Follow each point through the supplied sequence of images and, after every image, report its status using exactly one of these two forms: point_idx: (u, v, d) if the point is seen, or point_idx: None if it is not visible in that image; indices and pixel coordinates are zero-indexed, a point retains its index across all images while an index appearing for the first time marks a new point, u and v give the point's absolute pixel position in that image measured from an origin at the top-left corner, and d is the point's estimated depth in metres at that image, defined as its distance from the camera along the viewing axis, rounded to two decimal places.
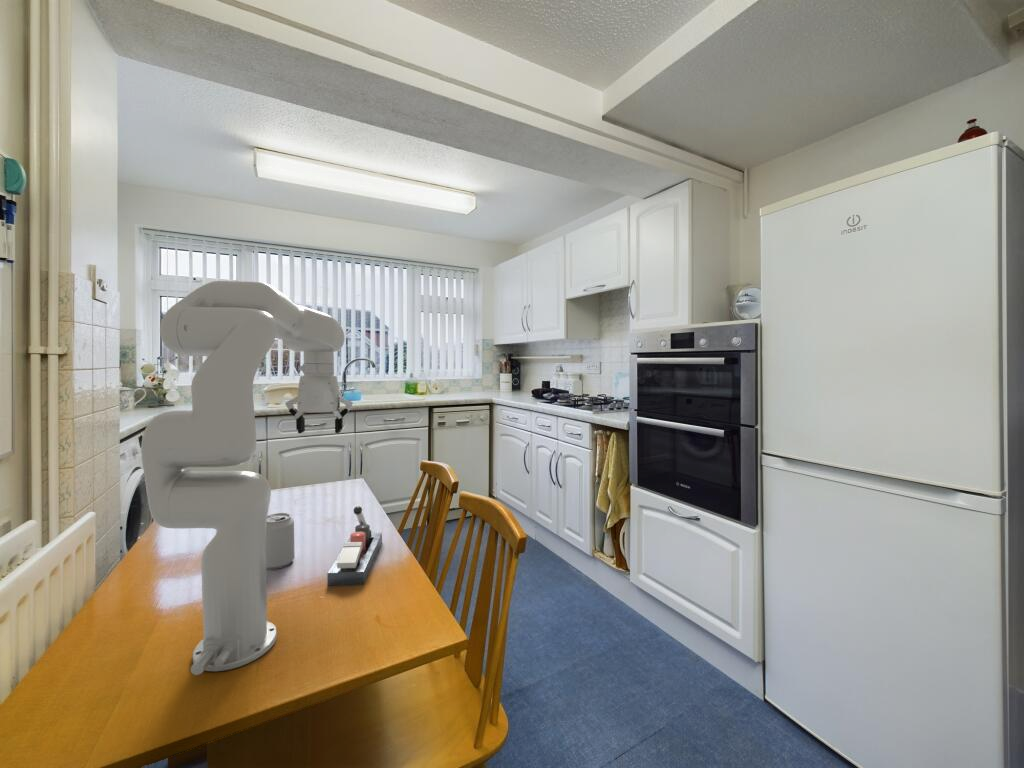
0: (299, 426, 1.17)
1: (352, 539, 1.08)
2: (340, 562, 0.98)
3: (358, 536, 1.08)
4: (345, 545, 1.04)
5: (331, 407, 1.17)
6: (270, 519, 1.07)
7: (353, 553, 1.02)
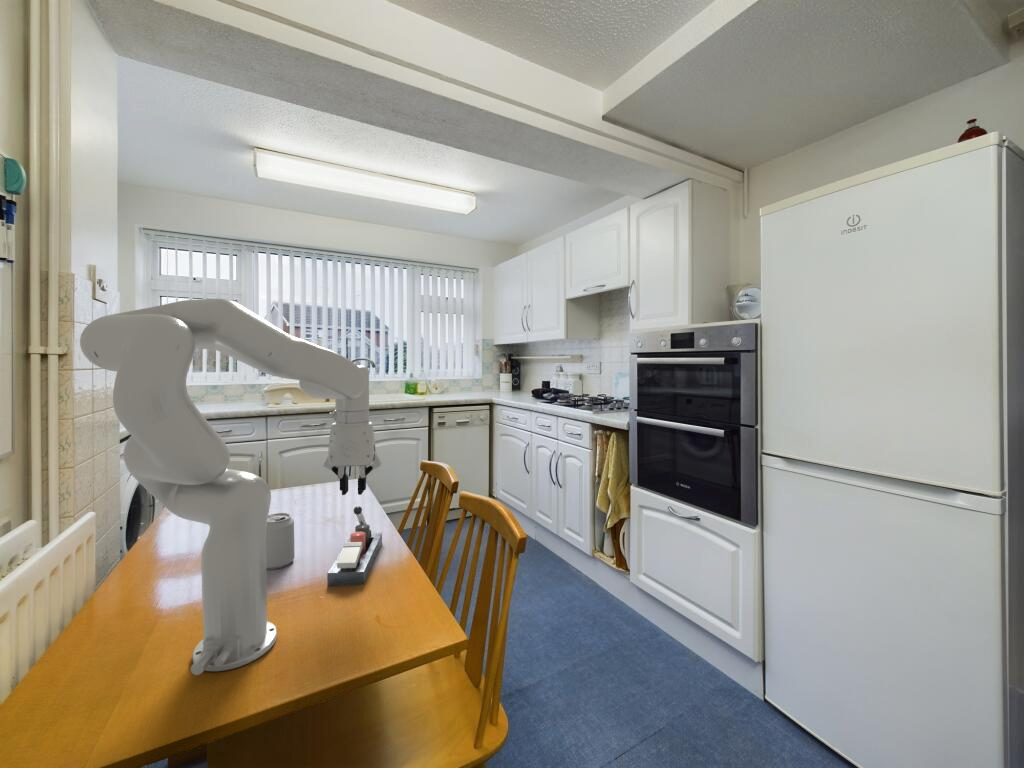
0: (343, 487, 1.02)
1: (352, 539, 1.08)
2: (340, 562, 0.98)
3: (358, 536, 1.08)
4: (345, 545, 1.04)
5: (367, 460, 1.01)
6: (270, 519, 1.07)
7: (353, 553, 1.02)
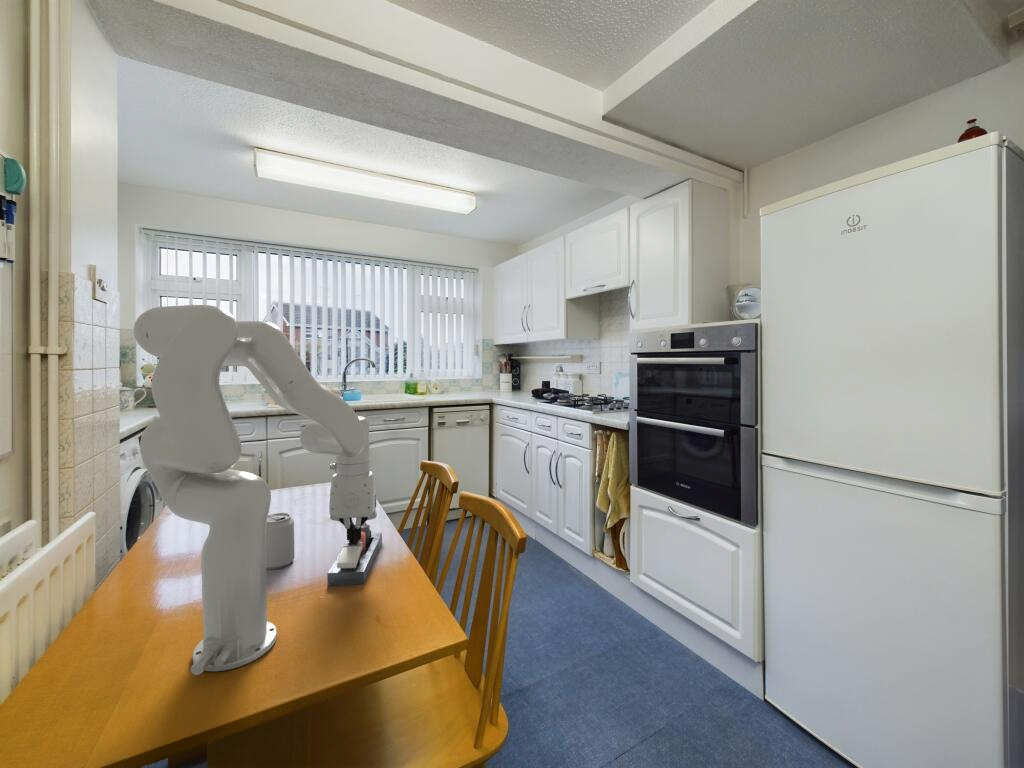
0: (350, 537, 1.04)
1: None
2: (340, 562, 0.98)
3: None
4: (345, 545, 1.04)
5: (368, 512, 1.02)
6: (270, 519, 1.07)
7: (353, 553, 1.02)
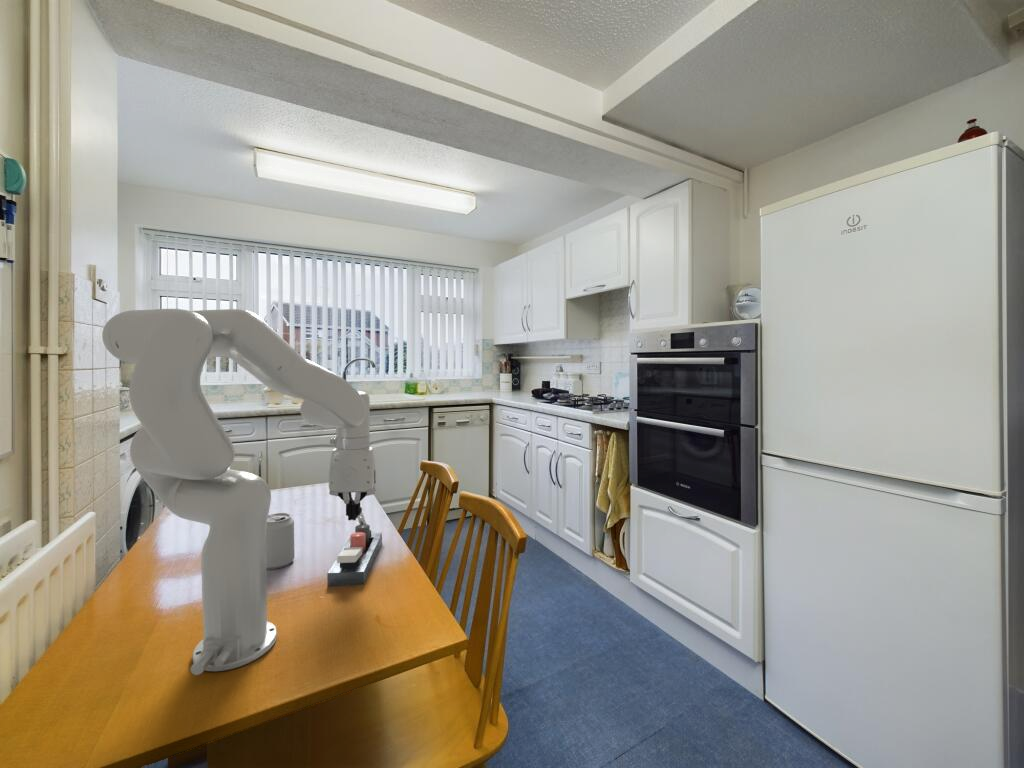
0: (349, 512, 1.03)
1: (352, 540, 1.08)
2: (340, 555, 0.99)
3: (358, 536, 1.08)
4: (346, 548, 1.04)
5: (367, 486, 1.02)
6: (270, 519, 1.07)
7: (353, 551, 1.02)
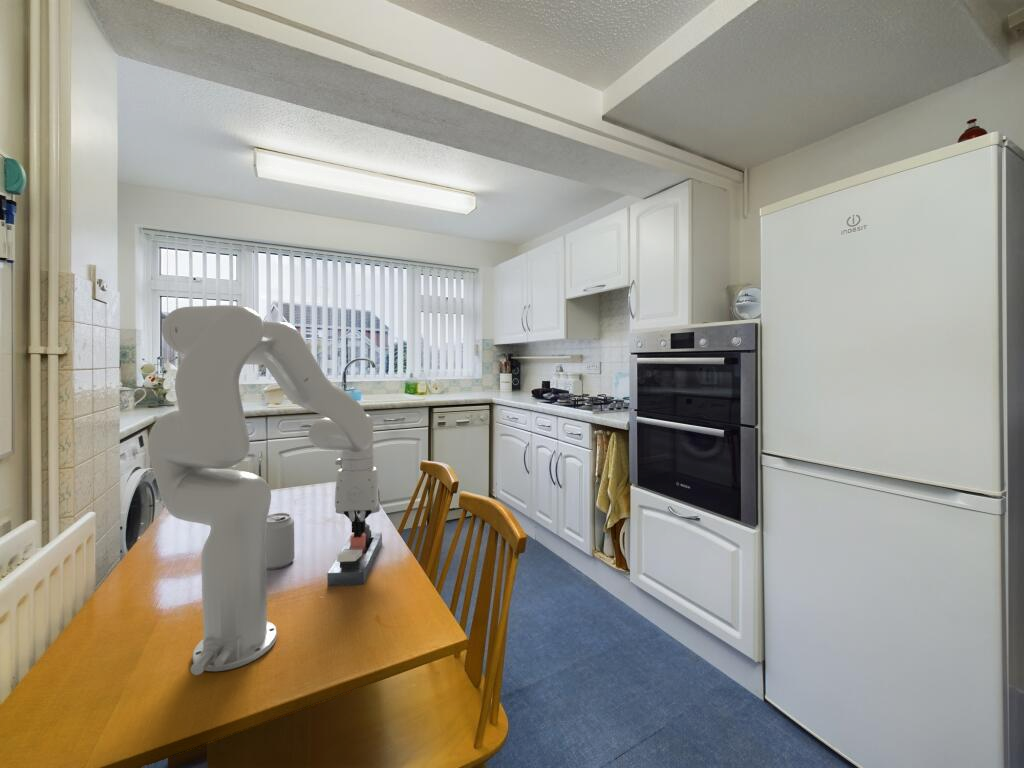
0: (355, 530, 1.08)
1: (352, 540, 1.08)
2: (341, 554, 0.99)
3: (358, 537, 1.08)
4: (346, 549, 1.04)
5: (372, 505, 1.07)
6: (270, 519, 1.07)
7: (353, 551, 1.02)
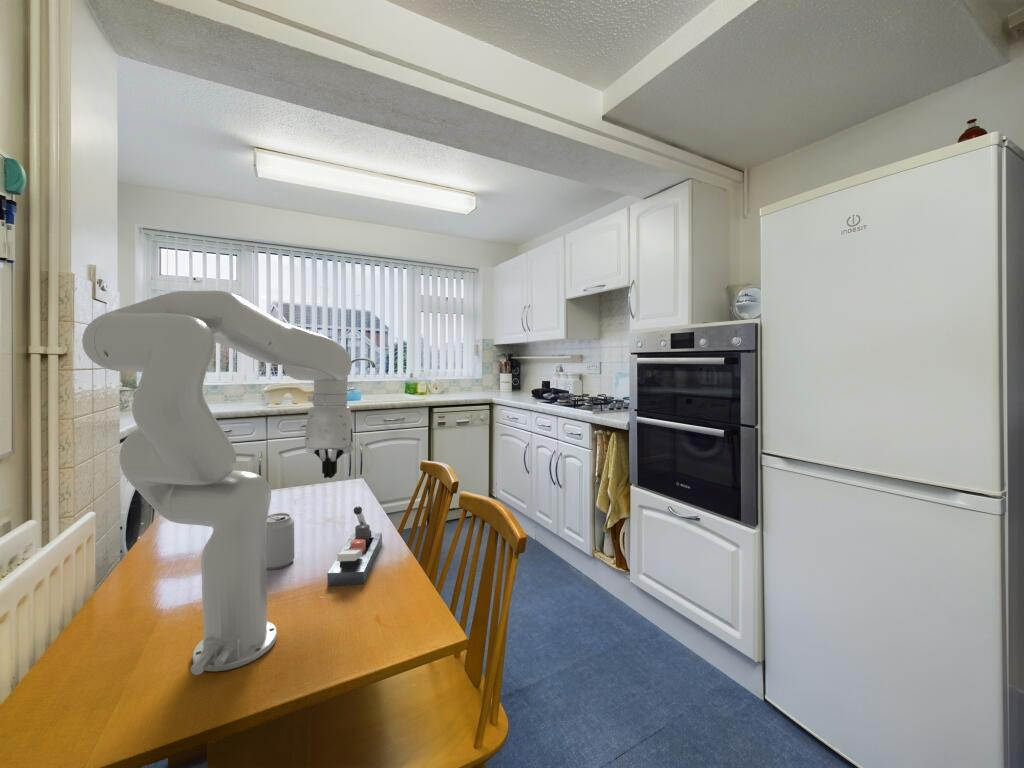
0: (325, 470, 1.04)
1: (352, 546, 1.08)
2: (341, 554, 0.99)
3: (358, 543, 1.09)
4: (346, 549, 1.04)
5: (343, 443, 1.03)
6: (270, 519, 1.07)
7: (353, 551, 1.02)
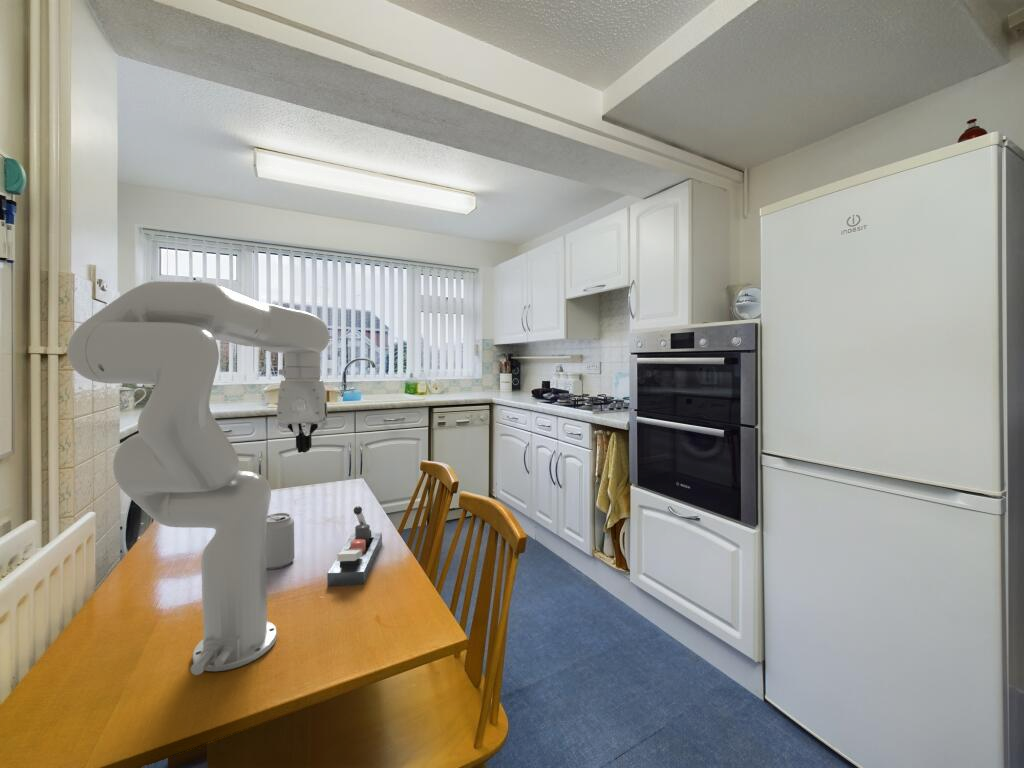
0: (299, 444, 1.02)
1: (352, 546, 1.08)
2: (341, 554, 0.99)
3: (358, 543, 1.09)
4: (346, 549, 1.04)
5: (316, 417, 1.01)
6: (270, 519, 1.07)
7: (353, 551, 1.02)
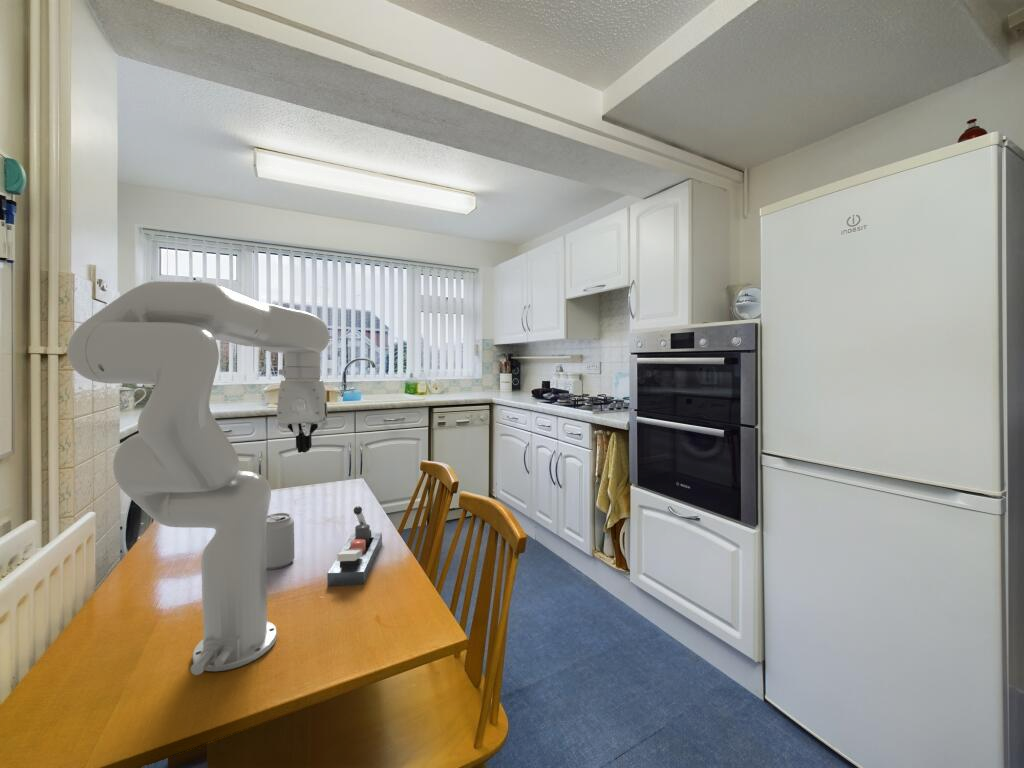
0: (299, 444, 1.02)
1: (352, 546, 1.08)
2: (341, 554, 0.99)
3: (358, 543, 1.09)
4: (346, 549, 1.04)
5: (316, 417, 1.01)
6: (270, 519, 1.07)
7: (353, 551, 1.02)
